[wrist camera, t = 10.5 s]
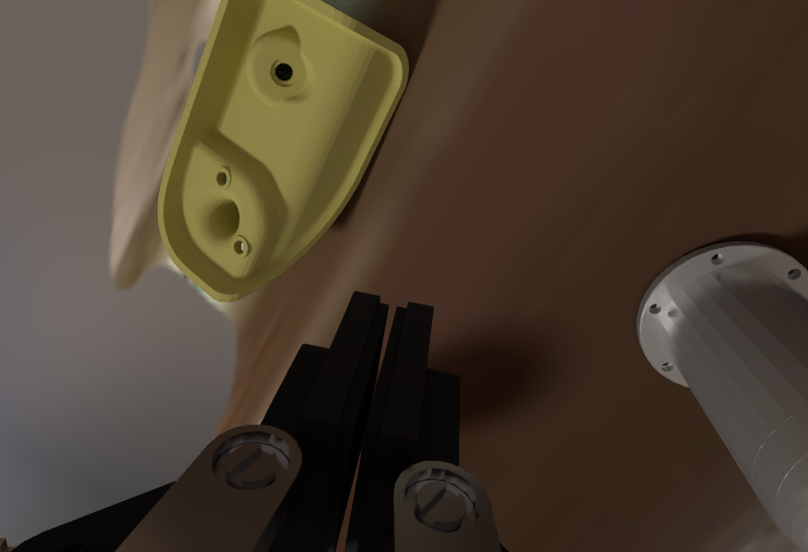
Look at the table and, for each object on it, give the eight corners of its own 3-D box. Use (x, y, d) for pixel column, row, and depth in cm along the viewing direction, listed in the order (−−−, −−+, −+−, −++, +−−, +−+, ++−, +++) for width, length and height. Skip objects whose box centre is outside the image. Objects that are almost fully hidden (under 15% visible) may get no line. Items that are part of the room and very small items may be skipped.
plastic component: (236, -47, 32) (361, 23, 29) (312, -5, 39) (420, 56, 36) (141, 236, 39) (233, 317, 36) (219, 231, 46) (302, 299, 43)
